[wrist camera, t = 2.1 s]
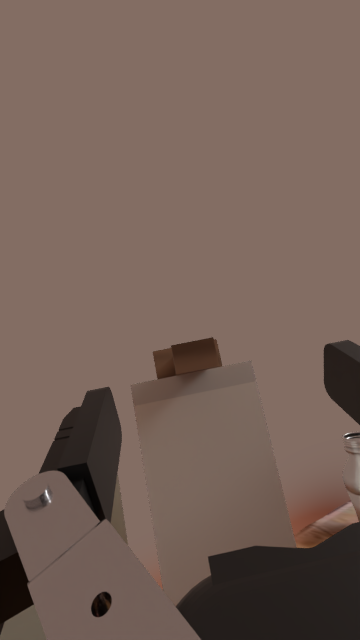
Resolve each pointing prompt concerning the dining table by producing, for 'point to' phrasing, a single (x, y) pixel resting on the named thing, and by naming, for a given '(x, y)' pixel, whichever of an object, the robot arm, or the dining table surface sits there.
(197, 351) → the walnut paddle
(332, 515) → the dining table surface
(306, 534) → the dining table surface
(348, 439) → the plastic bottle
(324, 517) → the dining table surface
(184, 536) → the cream stand
